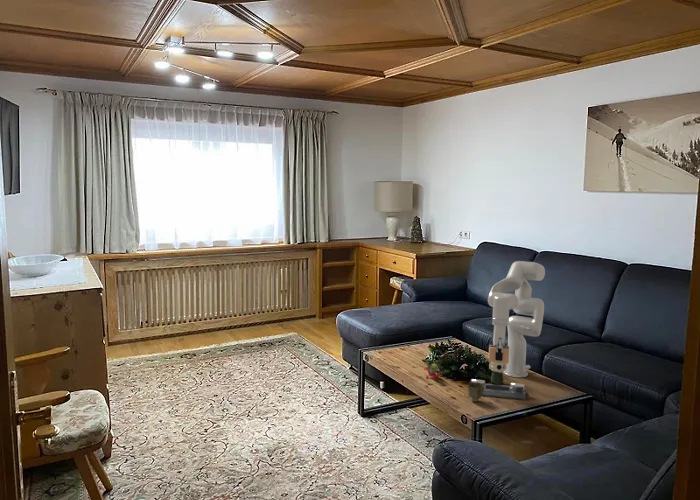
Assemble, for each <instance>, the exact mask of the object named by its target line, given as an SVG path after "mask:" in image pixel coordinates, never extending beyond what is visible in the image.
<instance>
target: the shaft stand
mask: <svg viewBox="0 0 700 500" xmlns="http://www.w3.org/2000/svg"><path fill="white" fill-rule="evenodd" d="M471 382H473V383H475V382H476V383H477V382H478V383H481V384H484V390H483V395H482V396H487V397H497V398H506V399H515V400H516V399H517V400H526V391H525V390H526V384H525V383H518V382H510V383H509V385H506V384H495V383H486V380H485V379H484V380H483V379H476V378H475V379H474V378H471V379H470V383H471Z"/></svg>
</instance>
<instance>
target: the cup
mask: <svg viewBox="0 0 700 500" xmlns="http://www.w3.org/2000/svg"><path fill="white" fill-rule="evenodd" d="M483 390H484V384H481V383H478V382H477V383H476V382H475V383H473V382H471V381H470V382H468V383H467V391H468V396H469V397H470V399H471V401H472V402H474V403H479V402H480V399H481V398H482V397H483V396H484V395H483Z"/></svg>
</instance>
